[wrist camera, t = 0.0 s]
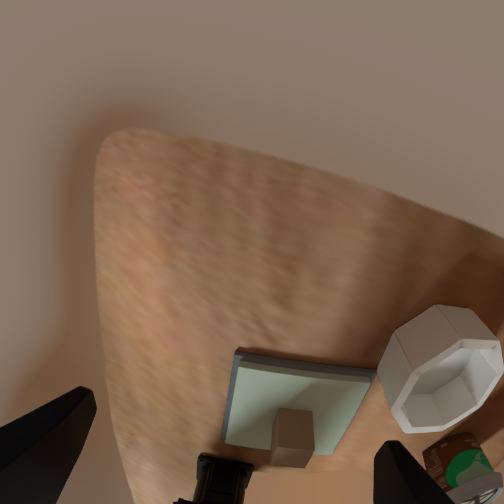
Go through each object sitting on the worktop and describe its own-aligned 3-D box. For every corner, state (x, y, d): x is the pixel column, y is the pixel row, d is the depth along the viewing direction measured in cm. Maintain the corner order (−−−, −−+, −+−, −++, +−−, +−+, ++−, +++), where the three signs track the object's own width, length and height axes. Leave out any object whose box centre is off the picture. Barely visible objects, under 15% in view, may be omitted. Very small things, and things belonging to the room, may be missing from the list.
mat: (332, 448, 28) (333, 452, 28) (221, 435, 29) (220, 439, 28) (375, 369, 24) (376, 373, 24) (235, 350, 24) (234, 354, 24)
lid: (330, 449, 28) (333, 488, 23) (226, 437, 28) (217, 477, 23) (369, 377, 24) (382, 421, 19) (239, 360, 24) (230, 407, 19)
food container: (495, 431, 27) (520, 483, 18) (464, 458, 29) (483, 510, 20) (451, 419, 26) (478, 486, 17) (414, 450, 28) (432, 516, 19)
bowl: (447, 394, 25) (464, 428, 20) (364, 393, 25) (374, 434, 20) (492, 311, 21) (520, 341, 17) (405, 299, 22) (429, 335, 17)
